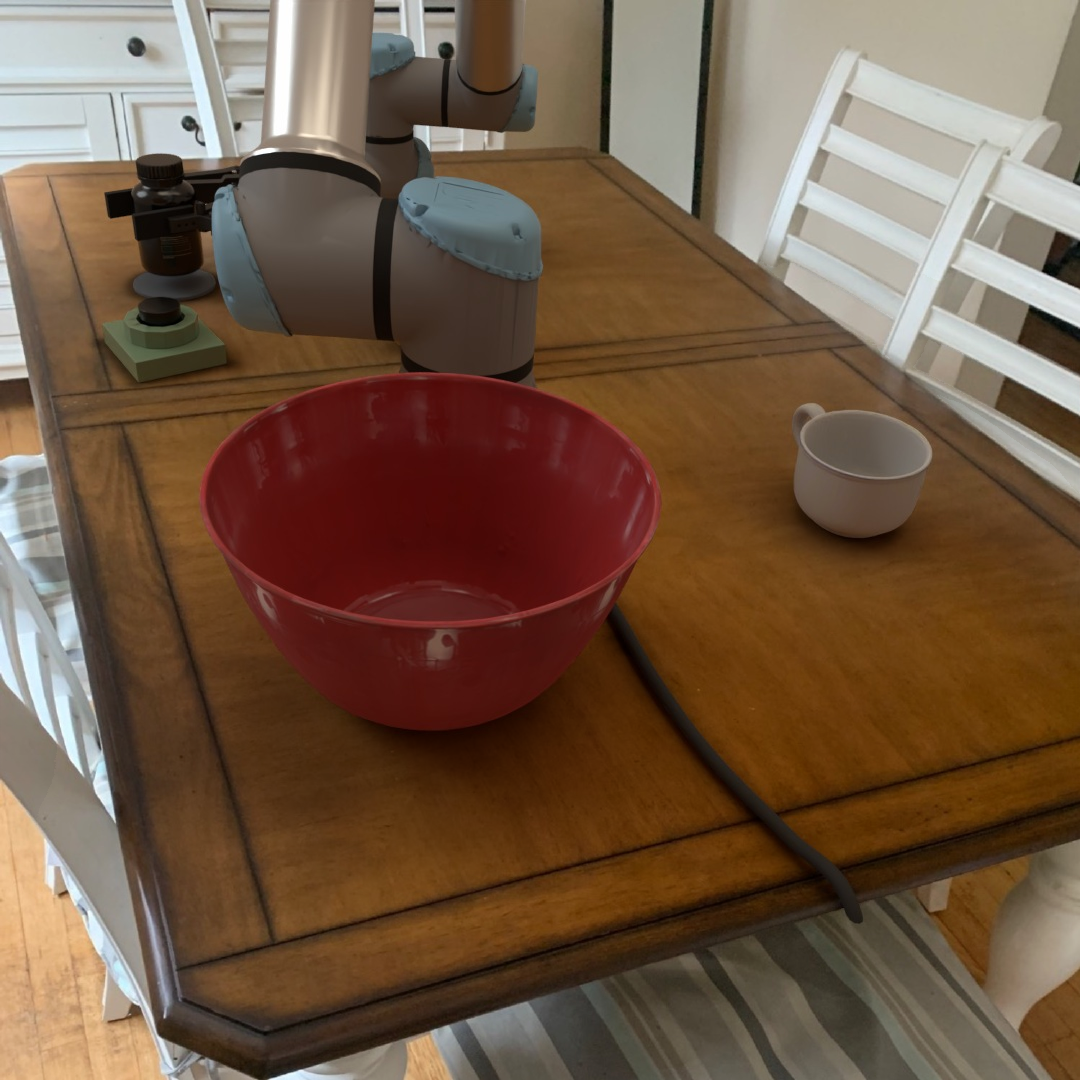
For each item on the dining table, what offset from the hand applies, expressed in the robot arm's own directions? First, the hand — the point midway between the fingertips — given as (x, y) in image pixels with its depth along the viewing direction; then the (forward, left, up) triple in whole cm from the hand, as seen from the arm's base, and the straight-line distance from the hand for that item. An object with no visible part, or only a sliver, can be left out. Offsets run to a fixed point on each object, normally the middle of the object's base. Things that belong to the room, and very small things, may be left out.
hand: (121, 216), depth 121 cm
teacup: (-71, -38, -9) cm, 81 cm away
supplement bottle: (0, -5, -7) cm, 8 cm away
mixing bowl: (-70, +3, -9) cm, 71 cm away
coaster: (0, -5, -9) cm, 10 cm away
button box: (-16, +2, -9) cm, 18 cm away
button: (-16, +2, -5) cm, 17 cm away
